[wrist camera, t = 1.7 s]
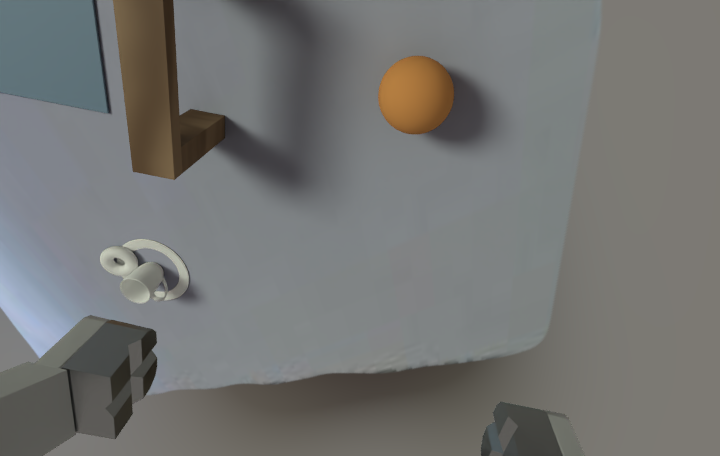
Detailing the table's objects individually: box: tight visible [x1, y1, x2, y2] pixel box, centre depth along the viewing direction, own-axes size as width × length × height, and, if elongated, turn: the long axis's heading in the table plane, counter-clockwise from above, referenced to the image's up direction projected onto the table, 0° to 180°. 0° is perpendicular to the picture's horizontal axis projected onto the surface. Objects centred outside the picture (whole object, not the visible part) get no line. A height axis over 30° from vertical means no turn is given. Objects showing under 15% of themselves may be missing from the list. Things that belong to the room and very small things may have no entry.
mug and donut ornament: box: [100, 239, 189, 303], centre depth 46 cm, size 9×8×4 cm
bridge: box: [113, 0, 225, 180], centre depth 31 cm, size 3×14×9 cm, turn 171°
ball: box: [378, 56, 454, 134], centre depth 32 cm, size 6×6×6 cm
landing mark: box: [0, 0, 109, 113], centre depth 35 cm, size 14×14×1 cm
